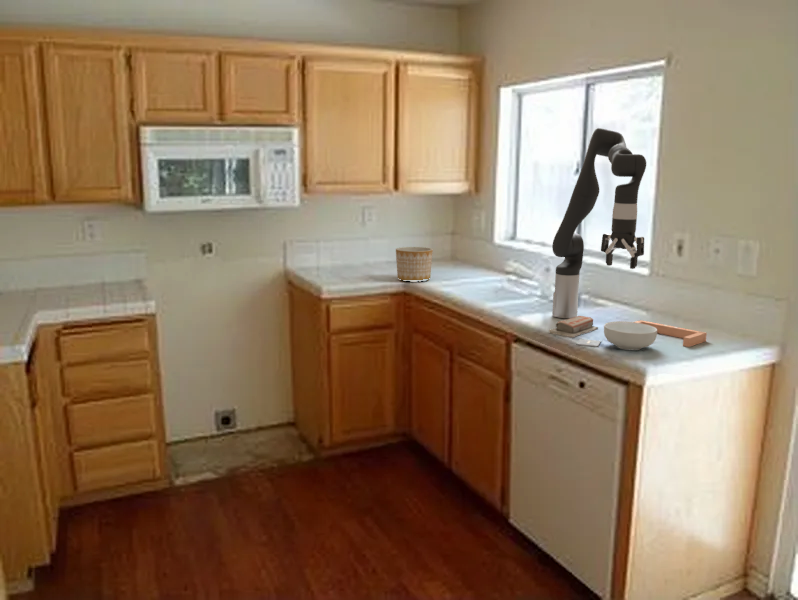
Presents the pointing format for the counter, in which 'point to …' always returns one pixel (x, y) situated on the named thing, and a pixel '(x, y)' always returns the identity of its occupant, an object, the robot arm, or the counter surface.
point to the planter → (414, 263)
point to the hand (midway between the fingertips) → (620, 266)
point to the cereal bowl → (630, 334)
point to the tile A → (588, 342)
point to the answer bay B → (679, 333)
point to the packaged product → (574, 326)
